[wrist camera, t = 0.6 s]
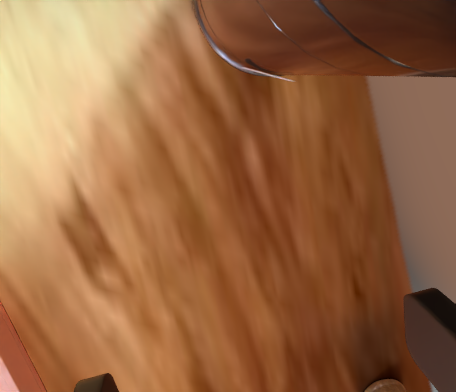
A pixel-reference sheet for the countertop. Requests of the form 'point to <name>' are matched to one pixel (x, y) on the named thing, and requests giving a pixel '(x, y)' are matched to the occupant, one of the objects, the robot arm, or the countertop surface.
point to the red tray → (15, 361)
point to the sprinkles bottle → (386, 386)
